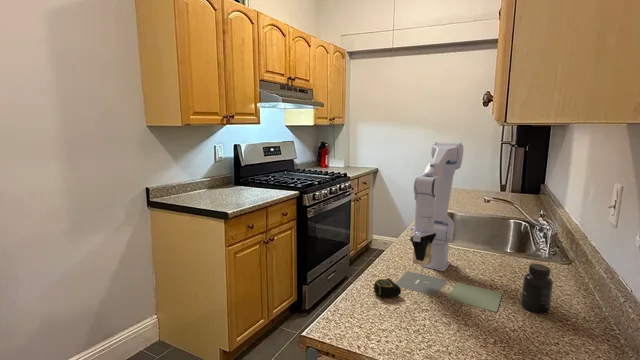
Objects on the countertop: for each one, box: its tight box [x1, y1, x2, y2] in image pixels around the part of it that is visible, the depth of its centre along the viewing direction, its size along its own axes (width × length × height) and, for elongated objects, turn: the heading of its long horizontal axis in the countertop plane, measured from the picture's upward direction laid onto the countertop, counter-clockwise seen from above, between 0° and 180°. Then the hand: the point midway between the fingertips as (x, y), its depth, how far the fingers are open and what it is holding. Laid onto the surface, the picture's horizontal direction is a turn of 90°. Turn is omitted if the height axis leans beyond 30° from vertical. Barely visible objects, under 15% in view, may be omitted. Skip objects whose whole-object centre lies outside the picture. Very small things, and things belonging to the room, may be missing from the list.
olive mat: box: [446, 281, 503, 313], centre depth 104 cm, size 13×13×1 cm
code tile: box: [394, 270, 447, 297], centre depth 113 cm, size 13×13×1 cm
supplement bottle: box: [520, 263, 554, 315], centre depth 97 cm, size 7×7×12 cm
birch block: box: [412, 243, 432, 267], centre depth 111 cm, size 4×4×6 cm
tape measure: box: [373, 278, 402, 299], centre depth 105 cm, size 7×7×4 cm
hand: (422, 257), depth 111 cm, fingers closed on birch block, 4 cm apart
